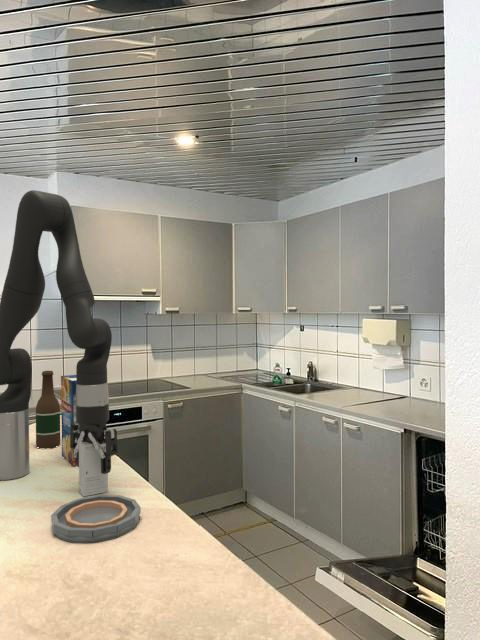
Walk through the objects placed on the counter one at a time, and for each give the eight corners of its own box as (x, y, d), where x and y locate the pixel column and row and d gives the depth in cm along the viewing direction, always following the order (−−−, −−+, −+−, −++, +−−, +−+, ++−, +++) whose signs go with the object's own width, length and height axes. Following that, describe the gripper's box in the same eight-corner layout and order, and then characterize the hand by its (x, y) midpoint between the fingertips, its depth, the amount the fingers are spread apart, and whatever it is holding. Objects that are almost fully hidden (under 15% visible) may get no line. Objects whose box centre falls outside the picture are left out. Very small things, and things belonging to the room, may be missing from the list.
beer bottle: (55, 449, 149) (54, 372, 149) (30, 449, 150) (29, 372, 149) (65, 442, 157) (64, 369, 157) (41, 442, 157) (40, 369, 157)
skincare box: (83, 497, 111) (82, 445, 111) (78, 491, 115) (77, 441, 115) (109, 491, 115) (109, 441, 114) (103, 486, 118) (103, 437, 118)
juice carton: (61, 456, 142) (60, 375, 142) (87, 452, 147) (86, 373, 146) (73, 467, 132) (72, 380, 132) (99, 462, 137) (99, 378, 136)
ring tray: (34, 528, 96) (34, 516, 95) (101, 499, 110) (101, 489, 110) (91, 551, 86) (91, 538, 86) (156, 517, 101) (156, 505, 100)
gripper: (60, 402, 115) (61, 469, 115) (100, 407, 107) (101, 480, 107) (85, 397, 121) (87, 461, 121) (125, 402, 113) (126, 470, 113)
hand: (93, 469), depth 114 cm, fingers open, 8 cm apart
